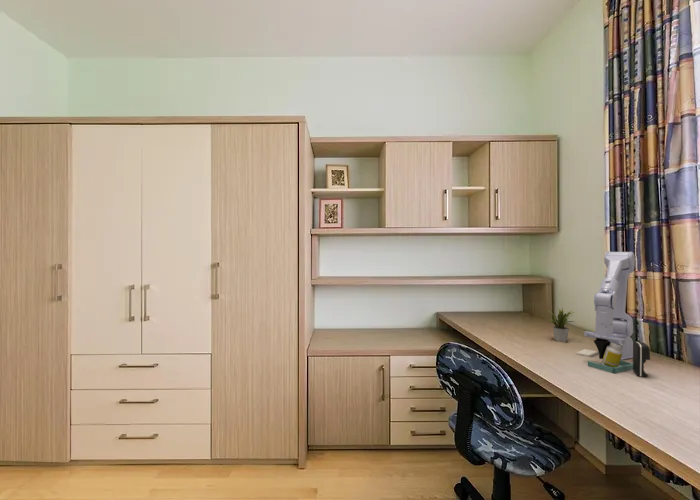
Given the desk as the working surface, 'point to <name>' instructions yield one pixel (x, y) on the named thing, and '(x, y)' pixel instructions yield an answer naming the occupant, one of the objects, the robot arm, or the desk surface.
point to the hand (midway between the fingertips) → (602, 358)
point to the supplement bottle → (612, 355)
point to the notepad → (587, 353)
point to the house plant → (560, 326)
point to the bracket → (624, 367)
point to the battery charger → (640, 357)
